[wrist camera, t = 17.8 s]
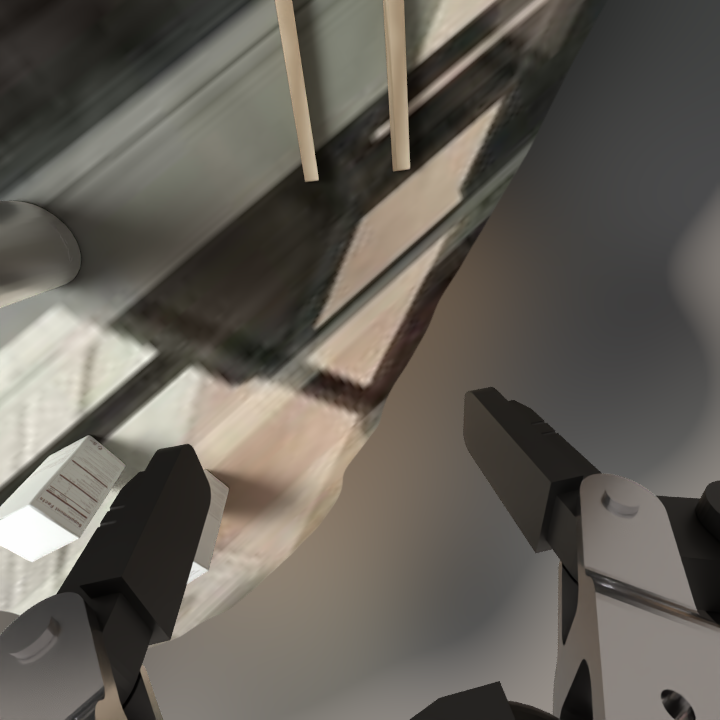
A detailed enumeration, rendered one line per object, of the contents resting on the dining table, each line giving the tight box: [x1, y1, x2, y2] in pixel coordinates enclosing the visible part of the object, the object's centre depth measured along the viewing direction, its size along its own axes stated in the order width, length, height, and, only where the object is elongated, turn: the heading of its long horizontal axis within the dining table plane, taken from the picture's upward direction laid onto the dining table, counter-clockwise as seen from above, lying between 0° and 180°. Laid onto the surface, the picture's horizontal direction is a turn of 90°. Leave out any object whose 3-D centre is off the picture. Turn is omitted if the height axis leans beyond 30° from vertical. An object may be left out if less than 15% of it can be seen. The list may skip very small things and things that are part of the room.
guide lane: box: [275, 0, 410, 182], centre depth 31 cm, size 12×27×4 cm, turn 7°
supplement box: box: [0, 435, 126, 562], centre depth 44 cm, size 7×7×13 cm
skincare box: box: [187, 470, 229, 584], centre depth 49 cm, size 8×6×15 cm
